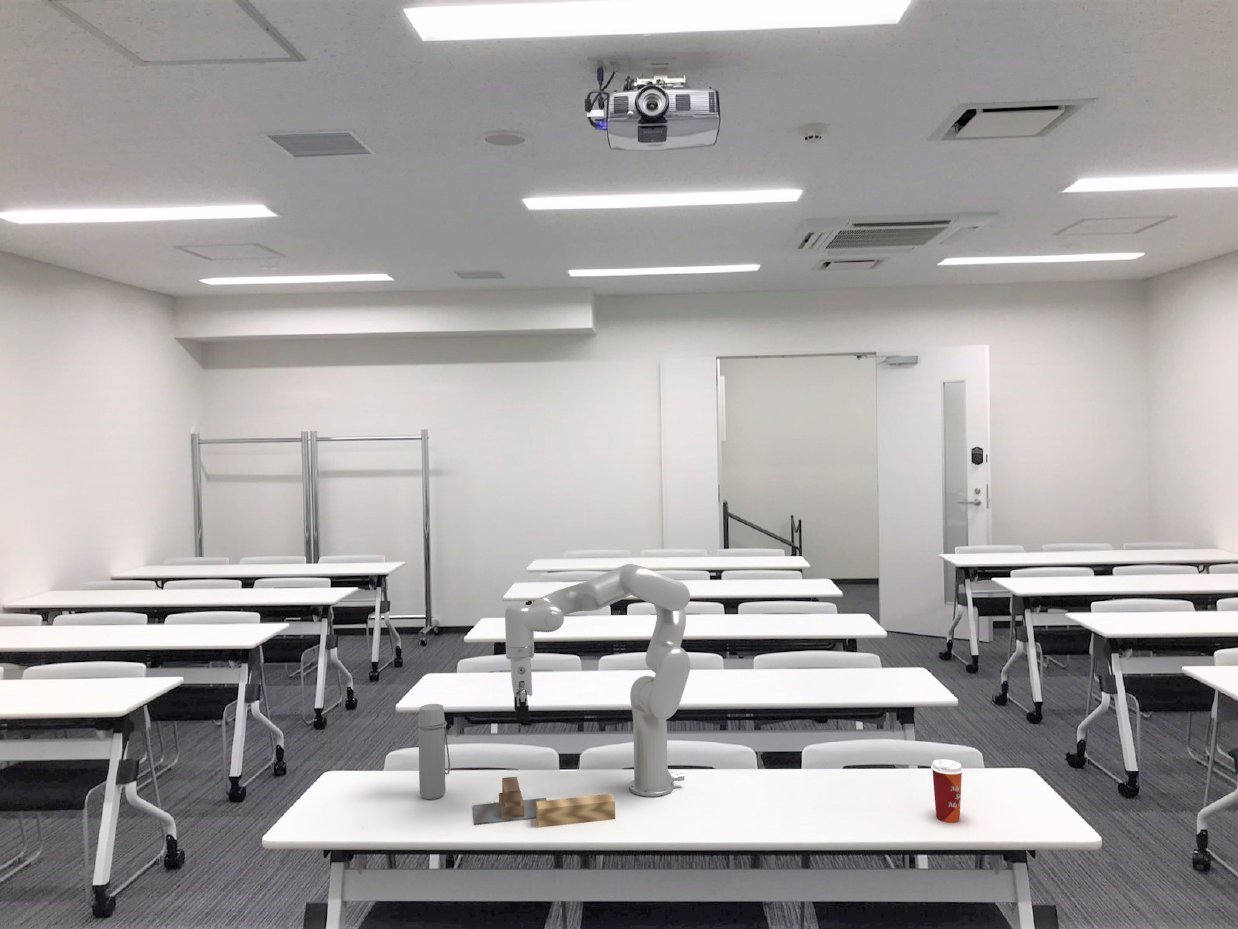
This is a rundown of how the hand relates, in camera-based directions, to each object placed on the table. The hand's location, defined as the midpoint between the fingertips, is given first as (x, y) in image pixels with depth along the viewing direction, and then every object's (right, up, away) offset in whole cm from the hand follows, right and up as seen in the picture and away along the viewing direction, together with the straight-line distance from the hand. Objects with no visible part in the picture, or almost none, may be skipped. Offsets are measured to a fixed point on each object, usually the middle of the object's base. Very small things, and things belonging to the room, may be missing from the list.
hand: (521, 715), depth 226 cm
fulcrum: (-3, -26, -1) cm, 26 cm away
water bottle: (-26, -26, +12) cm, 39 cm away
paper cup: (+111, -24, -10) cm, 113 cm away
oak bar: (+15, -26, -6) cm, 30 cm away
